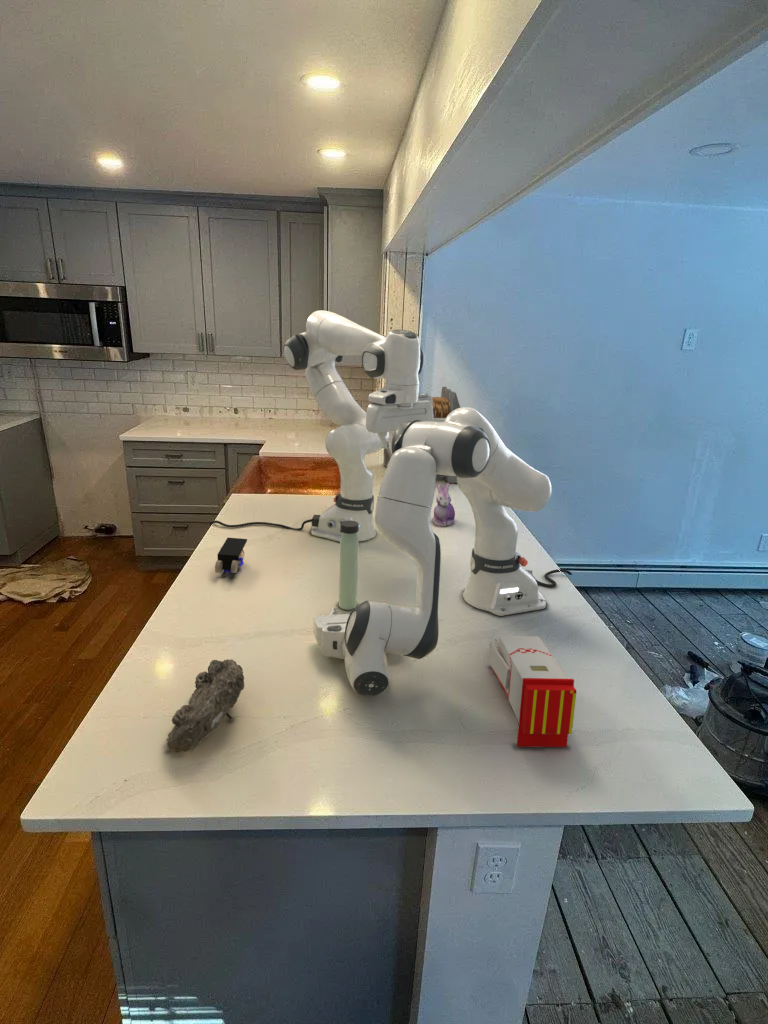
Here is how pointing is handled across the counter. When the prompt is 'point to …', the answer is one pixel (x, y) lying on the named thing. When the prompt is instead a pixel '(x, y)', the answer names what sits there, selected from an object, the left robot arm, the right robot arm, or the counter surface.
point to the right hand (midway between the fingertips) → (353, 609)
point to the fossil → (206, 705)
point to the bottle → (348, 571)
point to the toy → (534, 690)
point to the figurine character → (230, 556)
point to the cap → (349, 527)
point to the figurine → (443, 507)
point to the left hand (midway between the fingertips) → (399, 446)
